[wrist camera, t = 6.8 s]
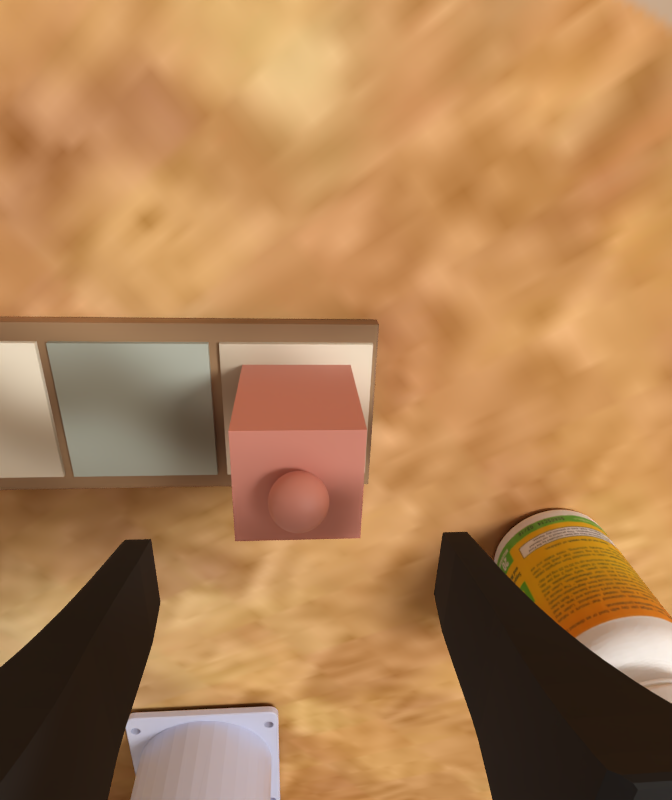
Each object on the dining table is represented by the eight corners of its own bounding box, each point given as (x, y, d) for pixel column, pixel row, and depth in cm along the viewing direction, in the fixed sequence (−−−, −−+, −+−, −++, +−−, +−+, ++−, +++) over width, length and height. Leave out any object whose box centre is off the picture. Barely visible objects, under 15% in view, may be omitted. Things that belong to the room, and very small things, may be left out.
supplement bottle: (478, 530, 26) (575, 736, 17) (591, 489, 25) (751, 680, 16) (506, 606, 28) (604, 822, 19) (610, 570, 27) (760, 776, 19)
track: (366, 475, 24) (368, 486, 23) (-234, 484, 22) (-252, 496, 21) (376, 319, 21) (379, 326, 20) (-321, 314, 19) (-345, 321, 18)
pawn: (346, 456, 22) (366, 573, 16) (246, 457, 22) (230, 577, 16) (350, 364, 20) (374, 459, 15) (242, 364, 20) (222, 460, 14)
